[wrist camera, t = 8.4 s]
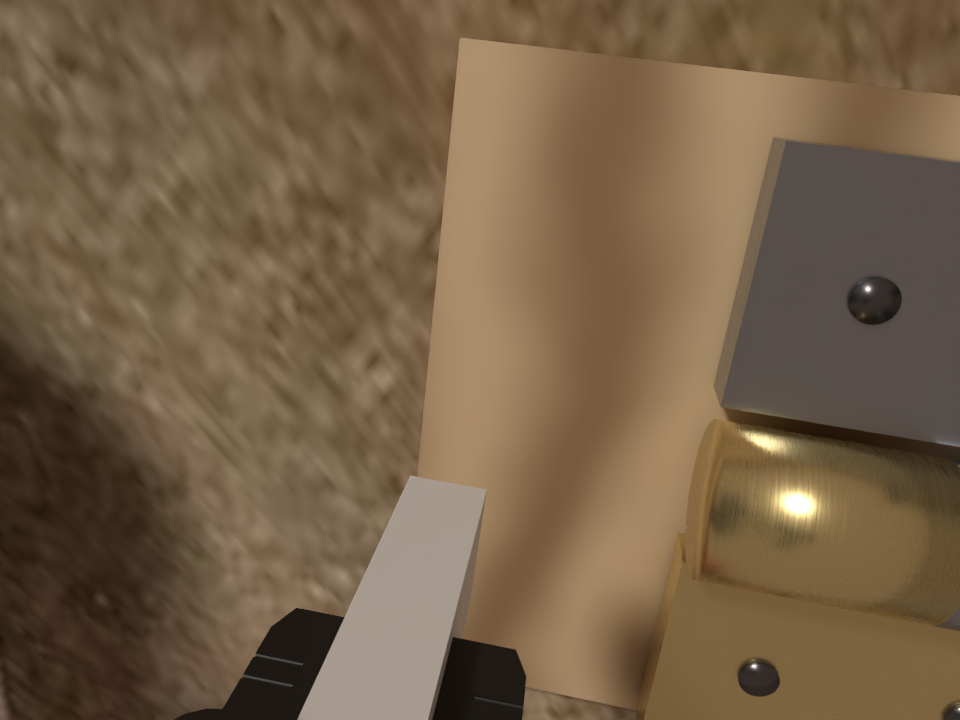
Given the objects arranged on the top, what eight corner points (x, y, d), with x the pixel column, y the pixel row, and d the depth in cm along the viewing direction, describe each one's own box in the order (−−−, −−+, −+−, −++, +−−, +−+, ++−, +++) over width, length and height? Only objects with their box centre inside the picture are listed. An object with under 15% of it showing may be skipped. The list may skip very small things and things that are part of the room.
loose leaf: (636, 705, 26) (641, 818, 22) (711, 395, 22) (733, 463, 18) (1004, 783, 25) (1081, 920, 21) (1155, 468, 21) (1288, 560, 17)
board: (407, 637, 29) (399, 659, 28) (467, 40, 21) (459, 37, 20) (1009, 764, 26) (1027, 794, 25) (1307, 138, 19) (1350, 142, 18)
